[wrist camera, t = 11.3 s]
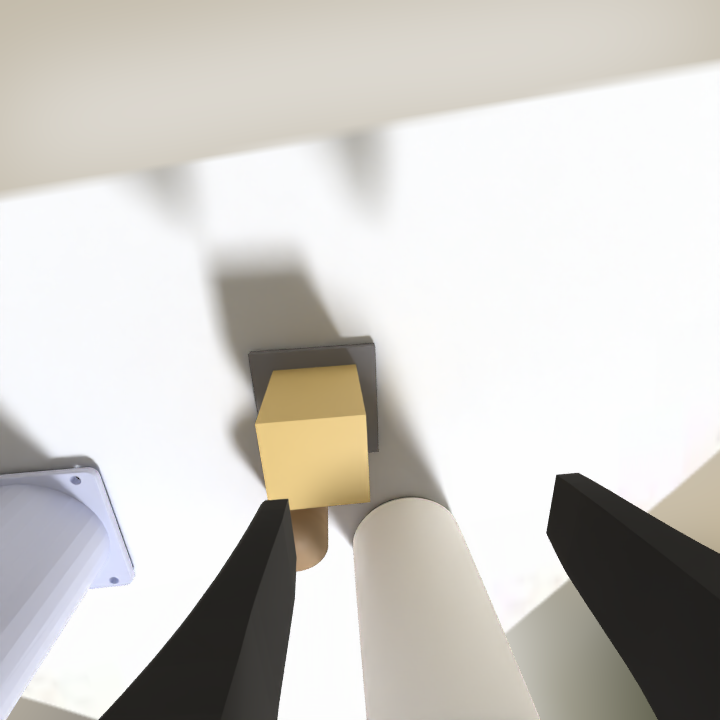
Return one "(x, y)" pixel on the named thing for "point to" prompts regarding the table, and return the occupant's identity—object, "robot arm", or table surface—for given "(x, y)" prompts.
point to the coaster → (322, 357)
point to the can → (429, 622)
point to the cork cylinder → (310, 535)
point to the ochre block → (314, 437)
